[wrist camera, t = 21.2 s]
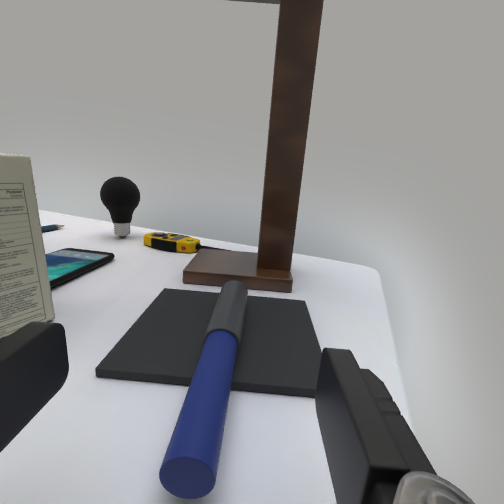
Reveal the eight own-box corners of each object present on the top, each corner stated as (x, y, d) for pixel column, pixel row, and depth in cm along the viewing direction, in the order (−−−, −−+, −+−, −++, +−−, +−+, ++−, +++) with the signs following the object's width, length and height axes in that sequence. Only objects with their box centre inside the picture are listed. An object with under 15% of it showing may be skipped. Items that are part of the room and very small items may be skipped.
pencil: (-39, 245, 37) (62, 227, 51) (-34, 246, 37) (66, 228, 51) (-41, 239, 37) (61, 222, 51) (-35, 240, 37) (66, 223, 51)
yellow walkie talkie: (157, 229, 47) (239, 241, 43) (157, 240, 48) (239, 253, 44) (137, 234, 43) (227, 249, 39) (137, 246, 44) (226, 262, 39)
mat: (95, 377, 17) (94, 368, 16) (164, 293, 28) (164, 287, 28) (333, 399, 16) (334, 390, 16) (304, 305, 28) (305, 300, 28)
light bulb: (120, 232, 51) (117, 175, 48) (148, 236, 50) (147, 178, 47) (94, 238, 46) (89, 175, 43) (125, 243, 44) (122, 178, 41)
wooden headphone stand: (180, 286, 30) (184, -104, 21) (201, 258, 40) (209, -15, 31) (292, 296, 30) (342, -93, 21) (284, 265, 40) (316, -7, 31)
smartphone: (117, 253, 37) (5, 302, 22) (117, 258, 37) (7, 310, 22) (66, 247, 37) (-73, 290, 23) (67, 252, 38) (-71, 299, 23)
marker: (217, 507, 10) (224, 458, 10) (151, 498, 10) (154, 448, 10) (246, 306, 26) (249, 282, 25) (219, 302, 26) (222, 278, 25)
